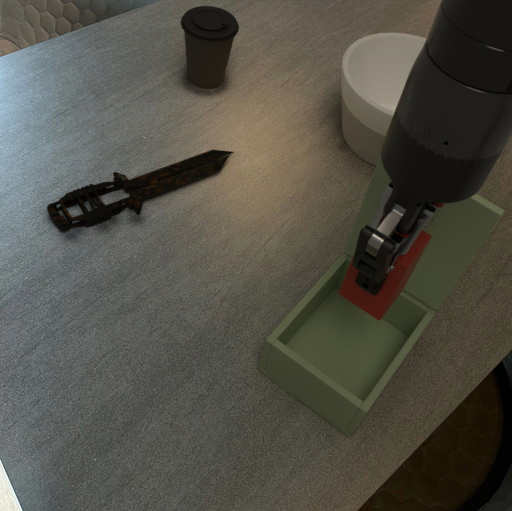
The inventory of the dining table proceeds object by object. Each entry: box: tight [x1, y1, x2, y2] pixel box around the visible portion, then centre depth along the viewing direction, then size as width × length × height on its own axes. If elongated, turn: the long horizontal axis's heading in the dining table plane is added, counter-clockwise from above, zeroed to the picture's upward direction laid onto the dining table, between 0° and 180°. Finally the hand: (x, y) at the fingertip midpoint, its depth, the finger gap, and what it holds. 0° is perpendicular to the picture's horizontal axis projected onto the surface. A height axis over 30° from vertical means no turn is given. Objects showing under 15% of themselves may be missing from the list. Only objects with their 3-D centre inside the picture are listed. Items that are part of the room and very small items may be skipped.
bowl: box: [340, 32, 427, 167], centre depth 86 cm, size 19×19×11 cm
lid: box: [343, 155, 505, 312], centre depth 61 cm, size 15×12×5 cm
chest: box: [257, 251, 438, 439], centre depth 65 cm, size 15×12×6 cm
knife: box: [46, 149, 235, 232], centre depth 78 cm, size 25×6×1 cm, turn 118°
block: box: [338, 230, 432, 321], centre depth 54 cm, size 4×4×8 cm
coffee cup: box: [180, 5, 240, 90], centre depth 89 cm, size 8×8×10 cm
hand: (381, 269), depth 54 cm, fingers closed on block, 4 cm apart
